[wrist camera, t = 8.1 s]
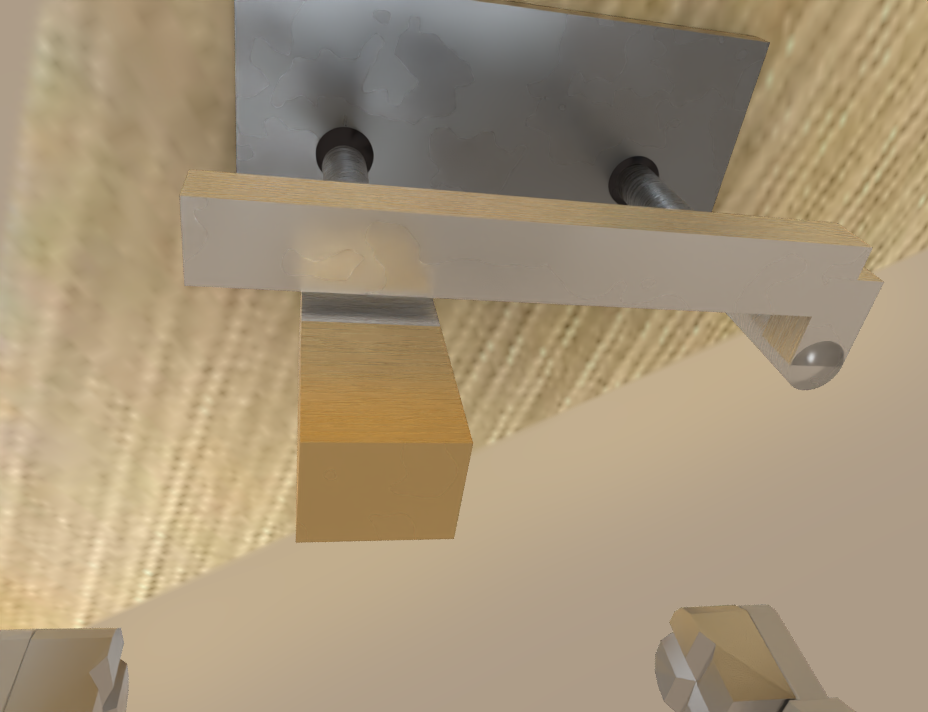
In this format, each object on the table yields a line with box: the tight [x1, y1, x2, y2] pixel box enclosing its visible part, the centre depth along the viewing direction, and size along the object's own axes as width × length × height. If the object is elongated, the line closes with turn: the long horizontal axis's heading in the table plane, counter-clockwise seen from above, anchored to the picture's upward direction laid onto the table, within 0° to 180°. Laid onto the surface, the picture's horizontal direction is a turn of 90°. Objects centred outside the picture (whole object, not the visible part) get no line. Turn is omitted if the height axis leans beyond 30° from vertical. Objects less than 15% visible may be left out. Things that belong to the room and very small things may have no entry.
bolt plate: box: [234, 0, 770, 212], centre depth 31 cm, size 20×12×1 cm, turn 81°
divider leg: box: [296, 146, 473, 542], centre depth 21 cm, size 3×2×18 cm
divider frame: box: [180, 164, 884, 390], centre depth 23 cm, size 17×4×14 cm, turn 81°
